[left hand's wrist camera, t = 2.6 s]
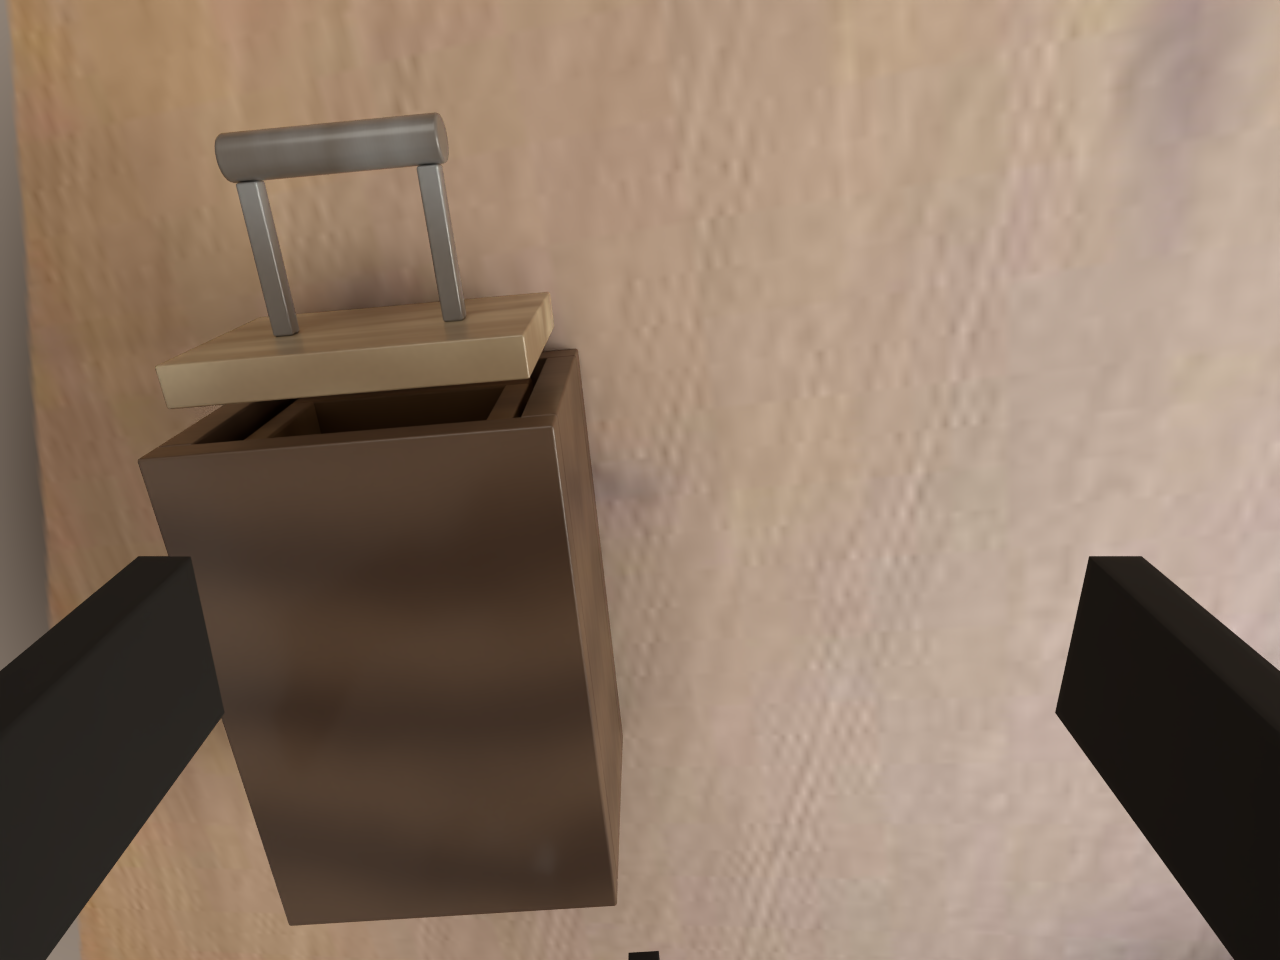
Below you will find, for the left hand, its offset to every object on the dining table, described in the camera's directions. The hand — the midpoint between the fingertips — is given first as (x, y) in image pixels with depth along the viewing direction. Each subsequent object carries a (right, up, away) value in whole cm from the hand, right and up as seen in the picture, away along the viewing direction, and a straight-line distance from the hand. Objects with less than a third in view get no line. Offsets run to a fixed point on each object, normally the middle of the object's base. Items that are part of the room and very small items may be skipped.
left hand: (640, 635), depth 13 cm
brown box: (-7, -1, +21) cm, 22 cm away
